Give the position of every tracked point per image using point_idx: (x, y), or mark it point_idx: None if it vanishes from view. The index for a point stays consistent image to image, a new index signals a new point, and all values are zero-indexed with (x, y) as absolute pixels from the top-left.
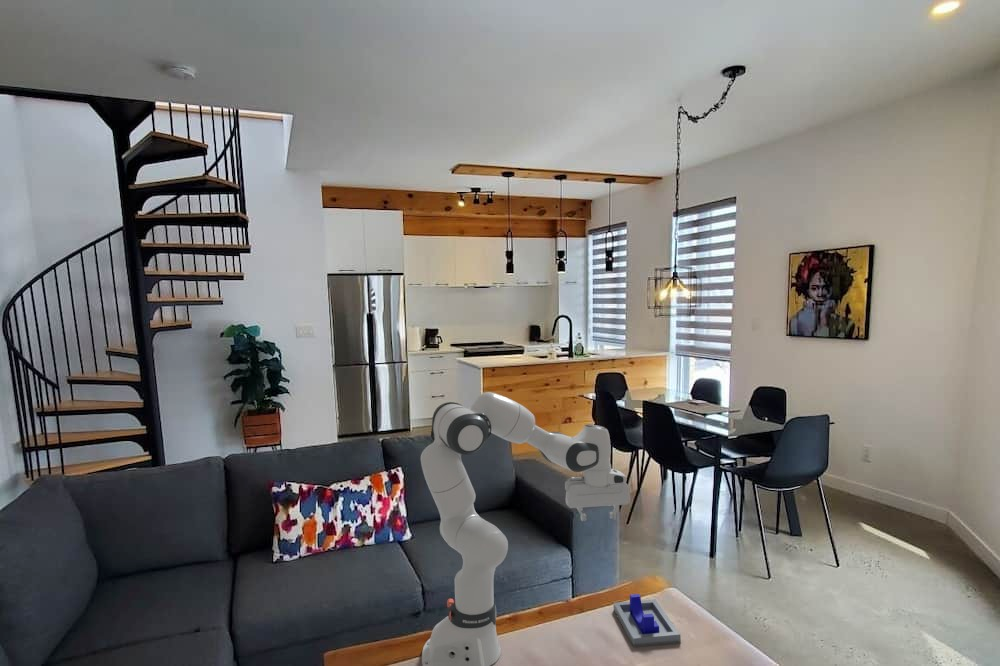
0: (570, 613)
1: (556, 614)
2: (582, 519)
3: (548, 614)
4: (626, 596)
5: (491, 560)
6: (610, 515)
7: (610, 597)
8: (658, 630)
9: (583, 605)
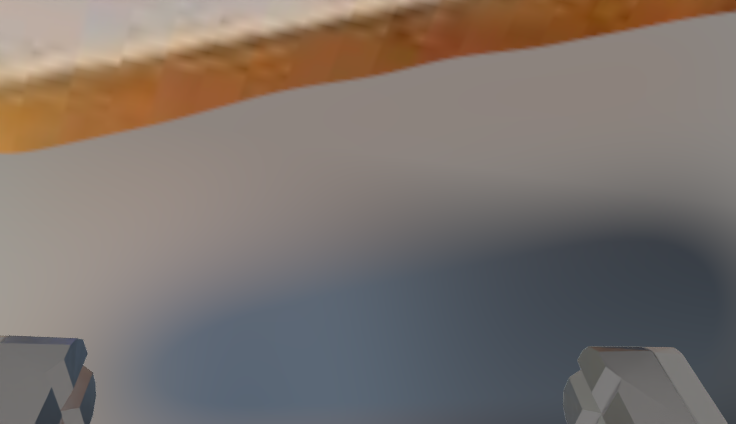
0: (463, 10)
1: (530, 17)
2: (682, 364)
3: (565, 25)
4: (143, 86)
5: None
6: (70, 420)
7: (226, 94)
8: None
9: (377, 59)
